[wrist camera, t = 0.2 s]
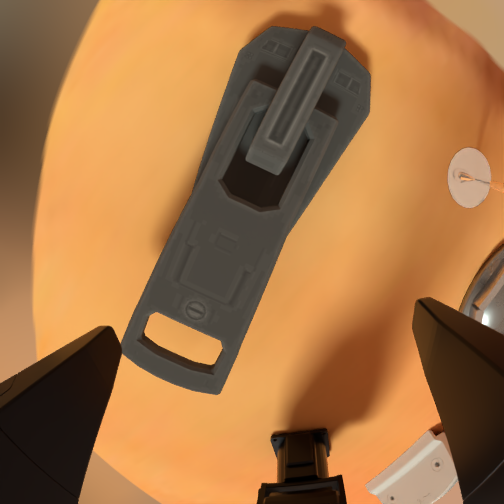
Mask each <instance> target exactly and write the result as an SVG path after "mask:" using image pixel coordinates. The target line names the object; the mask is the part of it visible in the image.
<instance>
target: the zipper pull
mask: <svg viewBox="0 0 504 504" xmlns="http://www.w3.org/2000/svg"><path fill="white" fill-rule="evenodd" d="M345 45H346V42H345V40H343V39H341V38H339V37H337V36H335V35H333V34H331V33H329V32H327V31H325V30H323V29H321V28H318V27H316V26H313V27H312V28H311V29H310V31H307V30H300V29H293V28H285V27H276V26H272V27H270V28H268V29H267V30H266V31H264V32H263V33H262V34H260V35H259V36H258V37H256V38H255V39H254V40H252V41H251V42H250V43H249V44H247V45H246V46H245V47H243V48H242V49H241V50H240V51H239V53H238V56H237V59H236V61H235V64H234V67H233V70H232V72H231V75H230V78H229V81H228V84H227V87H226V89H225V92H224V95H223V98H222V101H221V104H220V106H219V109H218V112H217V115H216V118H215V121H214V124H213V127H212V130H211V133H210V136H209V139H208V142H207V145H206V148H205V151H204V154H203V157H202V161H201V164H200V167H199V170H198V174H197V177H196V180H195V184H194V187H193V191H192V194H191V196H190V198H189V200H188V202H187V204H186V205H185V207H184V209H183V211H182V213H181V215H180V217H179V219H178V221H177V223H176V225H175V227H174V229H173V231H172V233H171V235H170V237H169V239H168V241H167V243H166V245H165V247H164V249H163V251H162V253H161V255H160V257H159V259H158V261H157V263H156V265H155V268H154V270H153V272H152V274H151V276H150V278H149V280H148V283H147V285H146V287H145V289H144V291H143V294H142V296H141V298H140V300H139V302H138V304H137V306H136V308H135V310H134V312H133V315H132V317H131V320H130V322H129V324H128V327H127V329H126V332H125V334H124V337H123V339H122V342H121V347H122V354H123V355H125V356H126V357H127V358H128V359H130V360H131V361H132V362H134V363H135V364H136V365H137V366H139V367H140V368H142V369H144V370H146V371H147V372H149V373H151V374H153V375H154V376H156V377H159V378H161V379H163V380H165V381H167V382H170V383H172V384H174V385H177V386H180V387H183V388H186V389H189V390H192V391H197V392H202V393H208V394H214V395H218V394H220V393H221V391H222V388H223V386H224V384H225V382H226V380H227V377H228V375H229V373H230V371H231V368H232V366H233V364H234V362H235V359H236V357H237V355H238V352H239V349H240V347H241V344H242V342H243V340H244V337H245V335H246V333H247V330H248V328H249V326H250V323H251V321H252V319H253V316H254V314H255V312H256V309H257V307H258V305H259V302H260V300H261V297H262V295H263V293H264V290H265V288H266V285H267V283H268V281H269V278H270V276H271V273H272V271H273V269H274V266H275V264H276V261H277V259H278V256H279V254H280V252H281V249H282V247H283V244H284V242H285V239H286V237H287V235H288V234H289V233H290V231H291V230H292V228H293V227H294V225H295V224H296V222H297V221H298V219H299V218H300V216H301V215H302V213H303V212H304V210H305V209H306V207H307V206H308V205H309V203H310V202H311V200H312V199H313V197H314V196H315V194H316V193H317V191H318V190H319V188H320V187H321V185H322V184H323V182H324V181H325V179H326V178H327V176H328V175H329V173H330V172H331V170H332V169H333V167H334V166H335V164H336V163H337V161H338V160H339V158H340V157H341V155H342V154H343V152H344V151H345V149H346V148H347V146H348V145H349V143H350V142H351V140H352V139H353V137H354V136H355V134H356V133H357V131H358V130H359V128H360V127H361V125H362V124H363V122H364V121H365V120H366V118H367V117H368V115H369V112H370V88H371V76H370V73H369V72H368V71H367V70H366V69H365V68H364V67H363V66H362V65H361V64H360V63H359V62H358V61H357V60H356V59H355V58H354V57H353V56H352V55H351V54H350V53H349V52H348V51H347V50H346V49H345ZM155 312H158V313H160V314H163V315H165V316H167V317H169V318H171V319H173V320H175V321H177V322H180V323H182V324H184V325H186V326H188V327H191V328H193V329H195V330H197V331H199V332H202V333H204V334H206V335H209V336H211V337H213V338H216V339H218V340H220V341H221V343H222V347H223V349H222V351H221V353H220V355H219V357H218V359H217V360H216V362H215V364H213V365H207V364H202V363H198V362H194V361H191V360H189V359H187V358H184V357H182V356H180V355H178V354H176V353H173V352H171V351H169V350H167V349H165V348H162V347H160V346H158V345H157V344H156V343H154V342H153V341H152V340H150V339H149V338H148V337H146V336H145V333H144V330H145V327H146V324H147V321H148V319H149V316H150V315H151V314H153V313H155Z"/></svg>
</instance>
